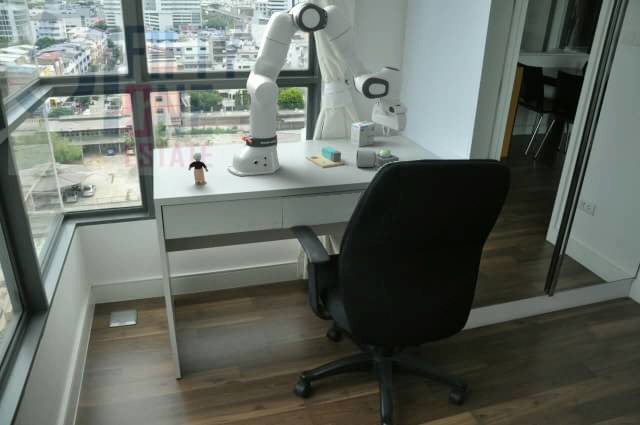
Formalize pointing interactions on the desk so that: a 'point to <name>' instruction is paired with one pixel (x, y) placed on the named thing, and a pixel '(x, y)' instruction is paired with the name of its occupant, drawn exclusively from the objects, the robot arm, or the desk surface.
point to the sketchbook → (323, 161)
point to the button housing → (382, 161)
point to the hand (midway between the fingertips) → (386, 136)
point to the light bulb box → (362, 133)
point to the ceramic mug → (365, 158)
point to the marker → (331, 154)
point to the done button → (385, 153)
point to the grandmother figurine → (198, 169)
